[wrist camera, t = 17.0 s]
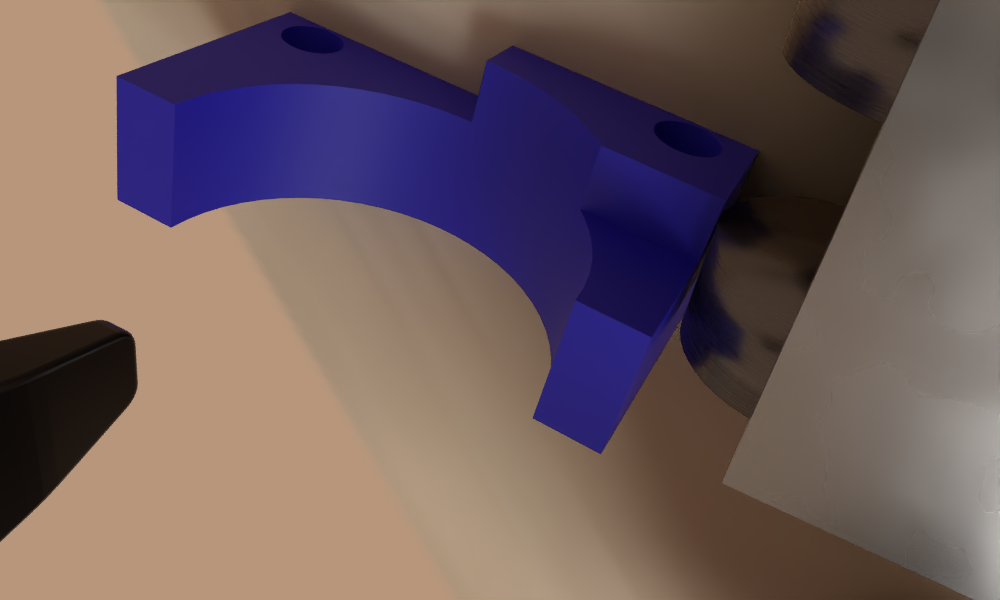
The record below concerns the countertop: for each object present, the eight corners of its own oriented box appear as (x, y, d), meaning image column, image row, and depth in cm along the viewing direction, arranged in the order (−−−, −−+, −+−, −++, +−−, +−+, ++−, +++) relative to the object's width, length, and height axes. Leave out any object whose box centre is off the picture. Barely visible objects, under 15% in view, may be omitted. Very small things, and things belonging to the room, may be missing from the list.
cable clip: (759, 148, 20) (681, 269, 16) (686, 309, 23) (600, 453, 18) (300, -48, 23) (116, 5, 18) (282, 116, 26) (117, 199, 21)
